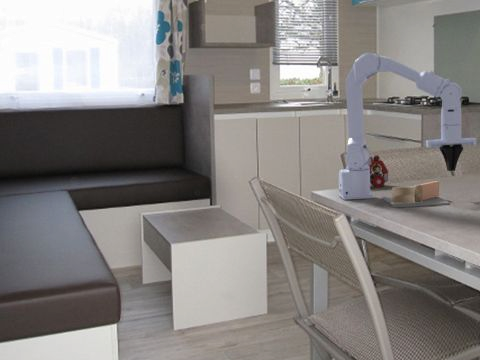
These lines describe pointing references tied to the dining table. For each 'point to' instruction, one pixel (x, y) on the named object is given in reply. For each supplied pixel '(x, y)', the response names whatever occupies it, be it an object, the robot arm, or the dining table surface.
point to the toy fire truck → (377, 172)
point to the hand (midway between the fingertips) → (451, 170)
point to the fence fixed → (406, 194)
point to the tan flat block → (429, 190)
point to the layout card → (423, 202)
